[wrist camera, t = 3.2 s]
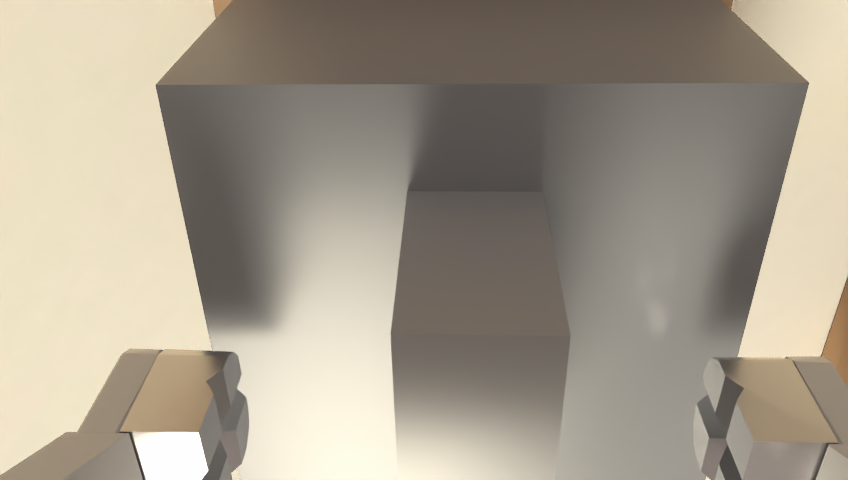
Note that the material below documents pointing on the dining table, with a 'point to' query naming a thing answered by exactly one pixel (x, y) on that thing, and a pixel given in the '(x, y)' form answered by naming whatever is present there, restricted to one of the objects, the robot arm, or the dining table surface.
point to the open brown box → (839, 338)
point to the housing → (477, 227)
